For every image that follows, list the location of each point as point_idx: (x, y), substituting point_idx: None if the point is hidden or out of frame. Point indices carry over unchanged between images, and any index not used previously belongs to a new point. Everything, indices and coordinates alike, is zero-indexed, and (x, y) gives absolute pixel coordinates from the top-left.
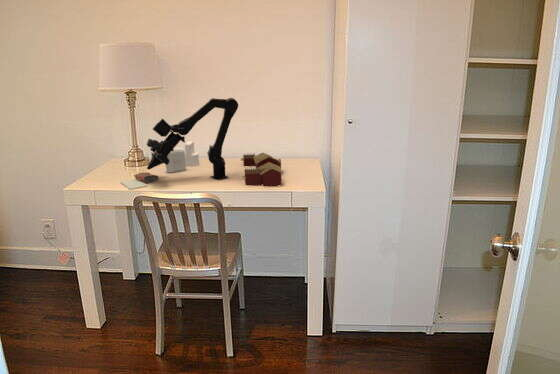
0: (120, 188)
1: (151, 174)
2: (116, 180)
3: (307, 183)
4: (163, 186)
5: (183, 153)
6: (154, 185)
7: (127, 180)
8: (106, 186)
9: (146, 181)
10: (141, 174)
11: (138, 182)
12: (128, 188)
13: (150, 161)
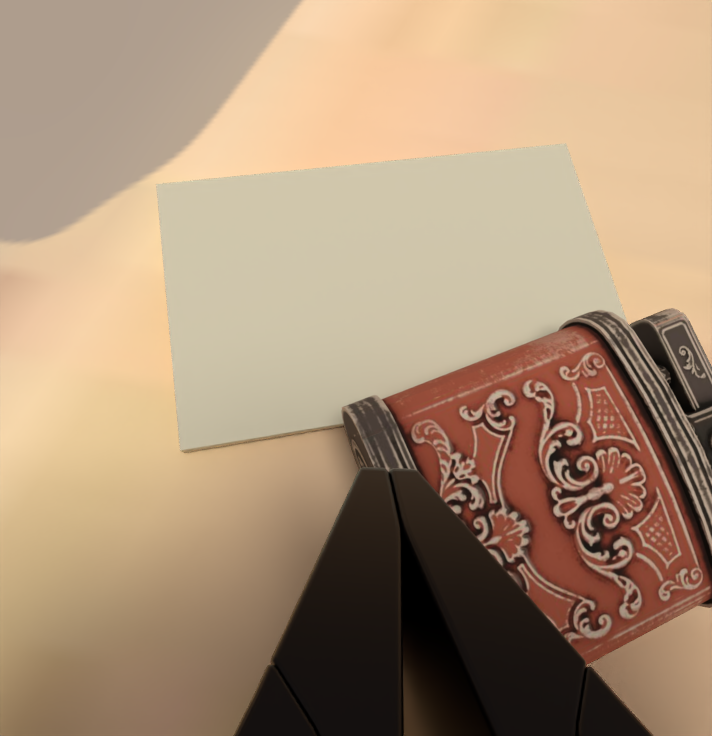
0: (294, 112)
1: (591, 605)
2: (679, 138)
3: None
4: (27, 713)
5: None
6: (187, 563)
7: (591, 233)
8: (458, 9)
9: (356, 457)
10: (589, 401)
11: (421, 346)
12: (223, 184)
13: (518, 684)
